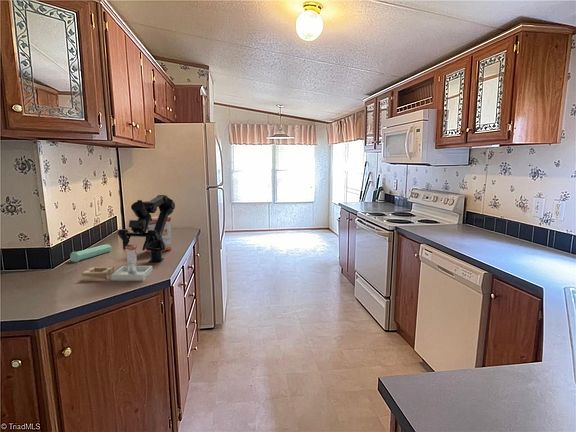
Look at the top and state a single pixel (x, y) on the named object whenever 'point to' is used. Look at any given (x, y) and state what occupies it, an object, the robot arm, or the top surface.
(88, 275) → the socket block
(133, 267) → the clear tall cylinder
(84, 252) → the container
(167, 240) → the cracker box
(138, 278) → the tray
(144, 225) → the robot arm
